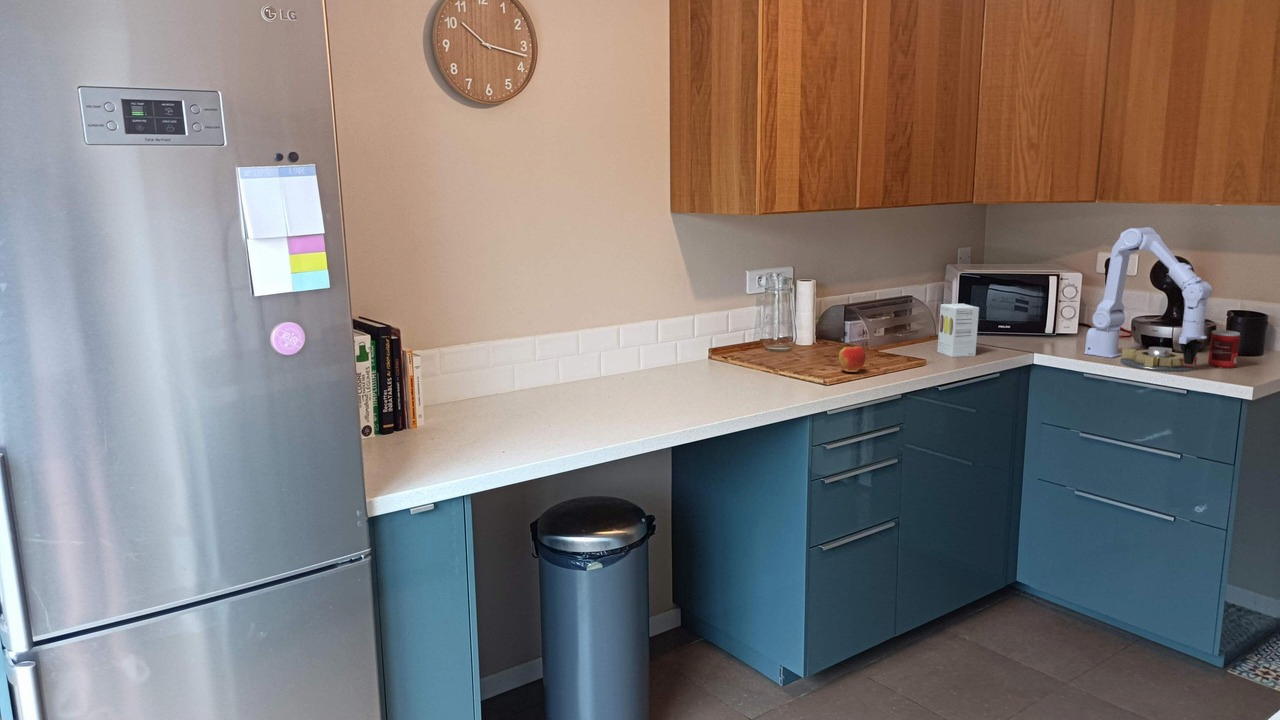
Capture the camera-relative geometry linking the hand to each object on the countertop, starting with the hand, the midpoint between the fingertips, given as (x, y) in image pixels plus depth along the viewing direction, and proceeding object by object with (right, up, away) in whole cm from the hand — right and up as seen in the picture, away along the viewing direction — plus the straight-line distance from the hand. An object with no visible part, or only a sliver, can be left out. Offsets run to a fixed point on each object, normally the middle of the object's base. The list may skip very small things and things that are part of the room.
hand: (1188, 363), depth 285 cm
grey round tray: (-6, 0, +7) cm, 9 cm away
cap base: (-6, 0, +7) cm, 9 cm away
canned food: (+14, -1, +5) cm, 15 cm away
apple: (-106, -3, -2) cm, 106 cm away
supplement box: (-64, +3, +26) cm, 69 cm away
